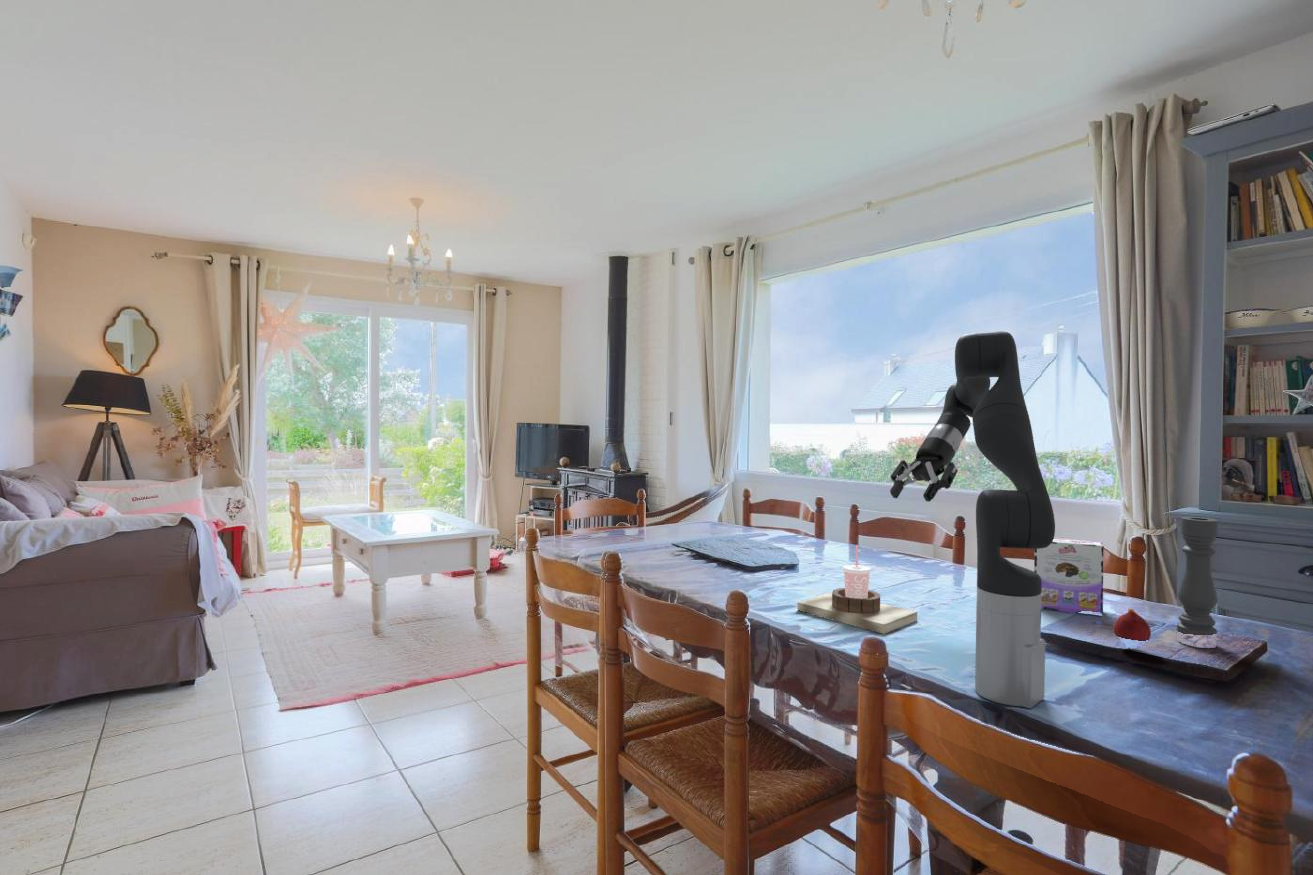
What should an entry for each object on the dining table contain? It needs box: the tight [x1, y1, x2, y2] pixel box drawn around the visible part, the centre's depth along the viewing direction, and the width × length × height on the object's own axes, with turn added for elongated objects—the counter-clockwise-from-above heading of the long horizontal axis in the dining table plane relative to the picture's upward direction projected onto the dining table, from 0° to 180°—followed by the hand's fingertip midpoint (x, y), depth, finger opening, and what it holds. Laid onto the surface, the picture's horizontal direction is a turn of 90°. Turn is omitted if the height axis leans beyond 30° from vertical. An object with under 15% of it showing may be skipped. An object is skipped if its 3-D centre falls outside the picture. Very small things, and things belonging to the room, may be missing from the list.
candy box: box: [1033, 537, 1104, 614], centre depth 155 cm, size 14×6×16 cm, turn 58°
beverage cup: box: [842, 544, 872, 599], centre depth 150 cm, size 6×6×14 cm
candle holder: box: [1176, 516, 1219, 635], centre depth 132 cm, size 6×6×25 cm
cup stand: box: [796, 587, 918, 635], centre depth 150 cm, size 22×14×5 cm, turn 41°
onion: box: [1113, 607, 1152, 641], centre depth 128 cm, size 6×6×8 cm
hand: (909, 497), depth 150 cm, fingers open, 8 cm apart
